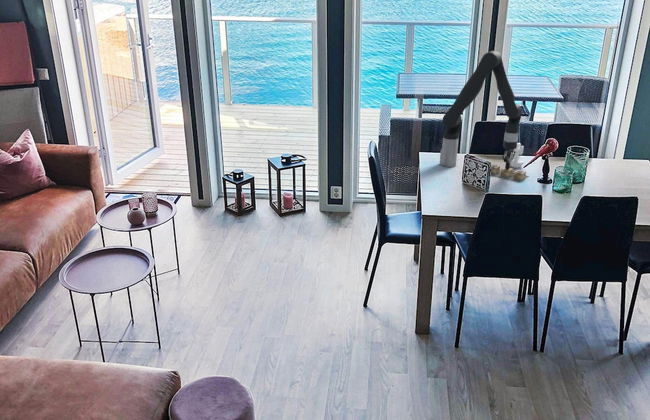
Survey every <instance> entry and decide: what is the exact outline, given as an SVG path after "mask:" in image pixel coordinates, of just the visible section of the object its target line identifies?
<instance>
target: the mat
mask: <svg viewBox="0 0 650 420" xmlns="http://www.w3.org/2000/svg"><path fill="white" fill-rule="evenodd" d="M490 177H494V178H498V179H503V180H506V181H511V182H515V183H521V182H523V181H524V180H526V179H527V178H529V177H530V176H529V175H526V177H525V179H523V180H518V179H514V172H513V173H512V175H511V176H510V177H505V176H501V169H500V172H499V173H497V174H493V173H491V176H490Z"/></svg>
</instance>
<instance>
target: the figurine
mask: <svg viewBox="0 0 650 420" xmlns="http://www.w3.org/2000/svg"><path fill="white" fill-rule="evenodd" d="M524 148H525V146H524V145H522V144H521V143H520V142H517V148H516V149H514V151H516V153H515V155H514V158H513V160H512V161H511V162H510V167H511V168H513V169H514V168H515V169H517V168H521V167H522V166H523V165H524V163H525V162H524V161H522V160H521V159H520V156H521V155H523V153H524Z"/></svg>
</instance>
